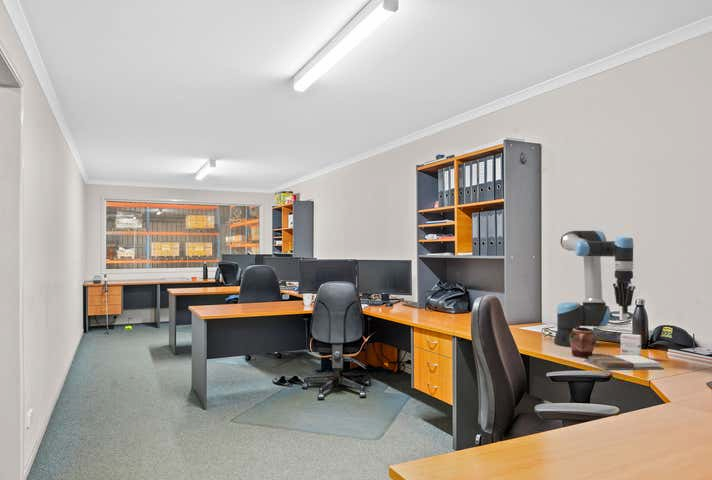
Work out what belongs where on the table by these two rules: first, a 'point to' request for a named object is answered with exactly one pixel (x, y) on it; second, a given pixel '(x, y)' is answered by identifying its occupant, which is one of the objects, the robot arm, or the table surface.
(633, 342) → the ink box
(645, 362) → the white flat board
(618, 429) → the table surface
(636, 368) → the underlay mat
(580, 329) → the decorative planter
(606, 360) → the walnut plank
